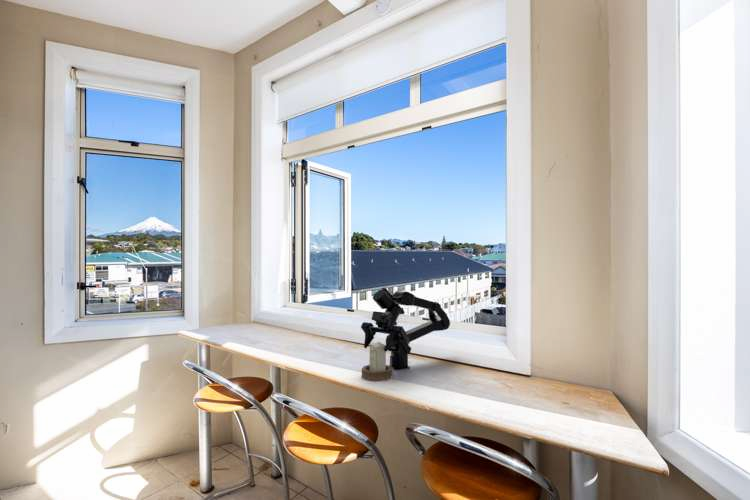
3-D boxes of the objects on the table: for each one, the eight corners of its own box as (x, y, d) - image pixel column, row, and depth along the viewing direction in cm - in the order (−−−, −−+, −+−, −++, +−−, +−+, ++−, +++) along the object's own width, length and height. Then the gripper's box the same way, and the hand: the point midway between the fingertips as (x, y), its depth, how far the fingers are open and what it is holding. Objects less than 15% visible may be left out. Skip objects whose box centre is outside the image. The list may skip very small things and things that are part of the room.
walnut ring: (385, 370, 146) (385, 362, 146) (396, 378, 136) (396, 370, 136) (358, 373, 143) (358, 365, 143) (367, 382, 132) (367, 374, 132)
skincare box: (369, 374, 141) (368, 342, 142) (379, 373, 143) (379, 341, 143) (375, 379, 135) (375, 346, 136) (386, 377, 137) (386, 345, 138)
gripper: (363, 302, 149) (345, 333, 139) (403, 305, 138) (386, 339, 129) (374, 319, 155) (358, 350, 145) (413, 323, 144) (398, 357, 135)
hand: (374, 349), depth 138 cm, fingers open, 9 cm apart
